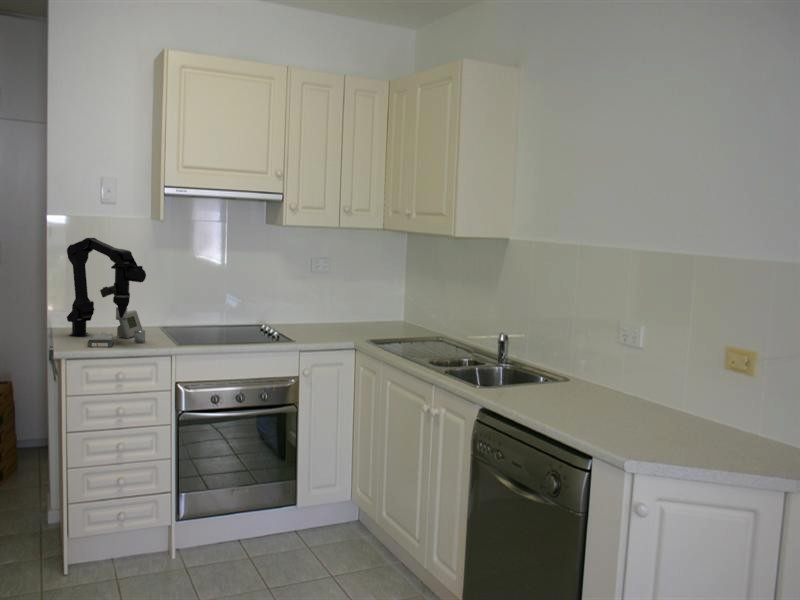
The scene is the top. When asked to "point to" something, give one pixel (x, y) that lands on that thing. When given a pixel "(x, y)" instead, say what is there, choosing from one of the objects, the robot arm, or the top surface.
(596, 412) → the top surface
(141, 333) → the cylinder
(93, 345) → the scale base
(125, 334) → the digital clock
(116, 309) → the cylinder
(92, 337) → the platform
